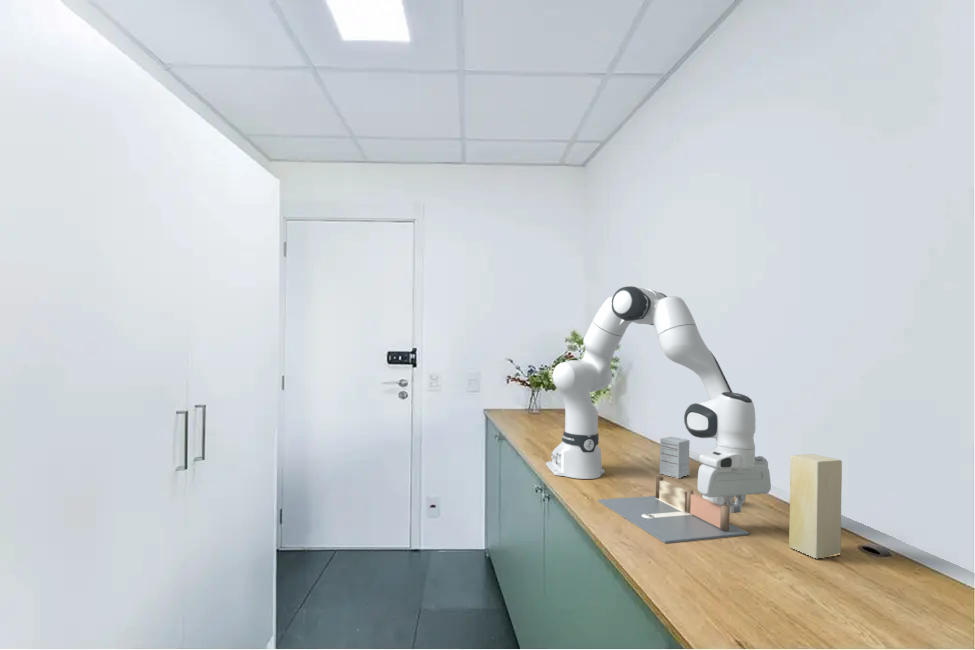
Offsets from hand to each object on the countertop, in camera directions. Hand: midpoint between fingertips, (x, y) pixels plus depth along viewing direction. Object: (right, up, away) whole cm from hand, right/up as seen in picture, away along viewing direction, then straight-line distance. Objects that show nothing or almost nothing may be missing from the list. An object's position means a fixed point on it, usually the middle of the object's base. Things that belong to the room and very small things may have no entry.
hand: (734, 512), depth 127 cm
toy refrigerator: (+11, -4, -15) cm, 18 cm away
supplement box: (+3, -5, +48) cm, 48 cm away
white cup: (+3, -4, +18) cm, 18 cm away
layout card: (-15, -3, +5) cm, 16 cm away
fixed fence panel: (-11, -3, +14) cm, 18 cm away
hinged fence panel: (-7, -2, +1) cm, 7 cm away
